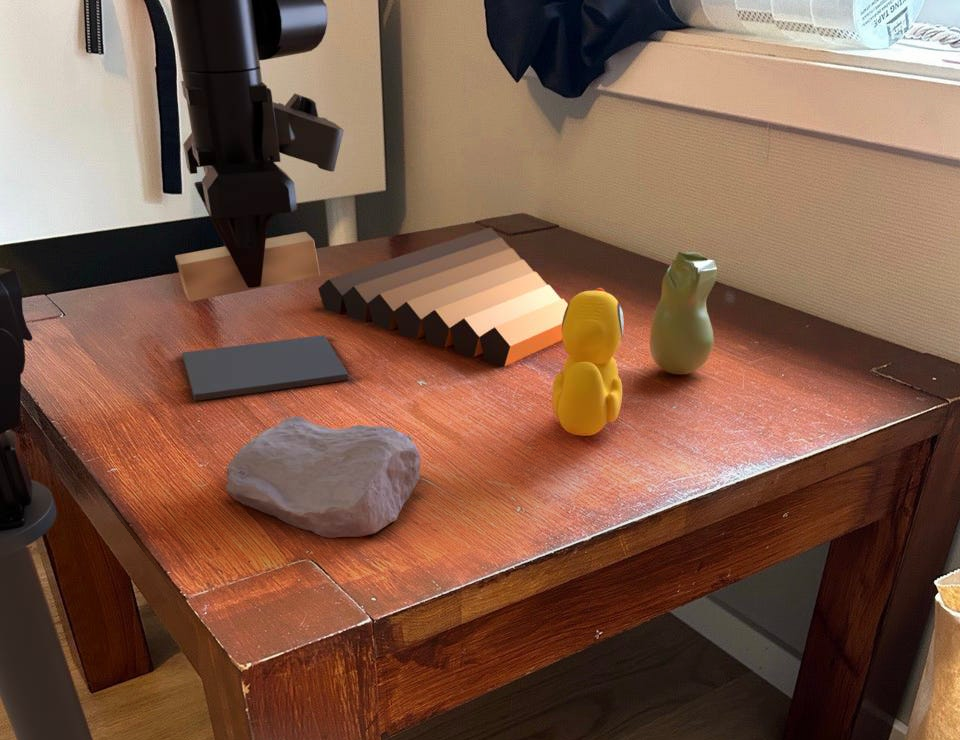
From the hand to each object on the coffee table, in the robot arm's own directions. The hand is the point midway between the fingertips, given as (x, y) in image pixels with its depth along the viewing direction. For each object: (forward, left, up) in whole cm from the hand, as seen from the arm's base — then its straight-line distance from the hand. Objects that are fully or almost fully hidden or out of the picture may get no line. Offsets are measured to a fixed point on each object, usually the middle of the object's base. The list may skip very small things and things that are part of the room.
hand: (251, 281), depth 81 cm
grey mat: (0, 0, -8) cm, 8 cm away
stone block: (0, -25, -8) cm, 26 cm away
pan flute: (+25, +10, -8) cm, 28 cm away
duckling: (+22, -20, -8) cm, 31 cm away
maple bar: (0, 0, 0) cm, 0 cm away
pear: (+34, -13, -8) cm, 37 cm away
